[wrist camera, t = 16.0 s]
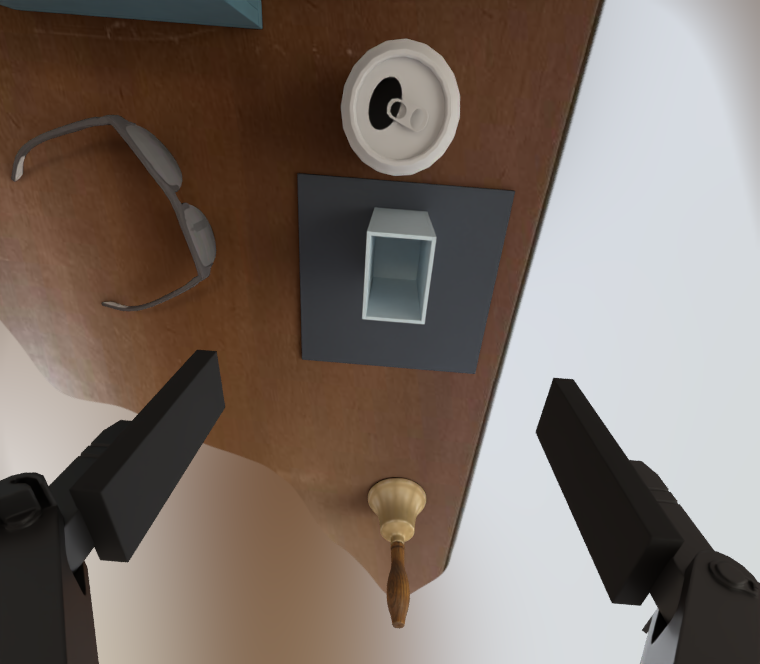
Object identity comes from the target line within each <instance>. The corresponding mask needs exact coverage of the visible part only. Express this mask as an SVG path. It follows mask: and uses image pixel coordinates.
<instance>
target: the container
mask: <svg viewBox="0 0 760 664" xmlns="http://www.w3.org/2000/svg"><path fill="white" fill-rule="evenodd" d="M435 244H436V235H435V232H434V229H433V226H432V223H431V221H430V218H429V215H428V212H426V211H414V210H402V209H390V208H377V207H375V208H374V211H373V214H372V217H371V220H370V224H369V227H368V230H367V239H366V257H365V275H364V293H363V311H362V319H366V320H378V321H390V322H402V323H414V324H425V317H426V309H427V302H428V295H429V288H430V281H431V273H432V266H433V259H434V252H435Z"/></svg>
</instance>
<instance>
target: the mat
mask: <svg viewBox="0 0 760 664" xmlns="http://www.w3.org/2000/svg"><path fill="white" fill-rule="evenodd" d="M514 194H515V191H511V190H499V189H487V188H474V187H462V186H450V185H437V184H425V183H413V182H400V181H388V180H376V179H363V178H351V177H339V176H326V175H314V174H302V173H298V215H299V255H300V296H301V336H302V359H303V360H315V361H327V362H339V363H351V364H362V365H374V366H386V367H398V368H410V369H422V370H434V371H446V372H458V373H470V374H475V371H476V367H477V362H478V358H479V353H480V349H481V344H482V339H483V335H484V330H485V326H486V321H487V317H488V312H489V308H490V303H491V298H492V294H493V289H494V285H495V280H496V276H497V271H498V267H499V262H500V257H501V253H502V248H503V244H504V239H505V235H506V230H507V226H508V221H509V216H510V212H511V207H512V203H513V198H514ZM375 207H377V208H390V209H402V210H414V211H426V212H428V215H429V218H430V221H431V223H432V226H433V229H434V232H435V235H436V244H435V252H434V259H433V266H432V273H431V281H430V288H429V295H428V302H427V309H426V317H425V324H414V323H402V322H390V321H378V320H366V319H362V311H363V293H364V275H365V257H366V239H367V230H368V227H369V224H370V220H371V217H372V214H373V211H374V208H375Z"/></svg>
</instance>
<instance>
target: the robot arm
mask: <svg viewBox="0 0 760 664" xmlns="http://www.w3.org/2000/svg"><path fill="white" fill-rule="evenodd" d="M224 408H225V403H224V397H223V390H222V384H221V377H220V371H219V364H218V358H217V351H206V350H196V351H195V353H194V354H193V355H192V356H191V357H190V358H189V359H188V360H187V361H186V362H185V363H184V365H183V366H182V367H181V368H180V369H179V370H178V371H177V372H176V373H175V374H174V376H173V377H172V378H171V379H170V380H169V381H168V382H167V383H166V384H165V385H164V386H163V388H162V389H161V390H160V391H159V392H158V393H157V394H156V395H155V396H154V397H153V398H152V400H151V401H150V402H149V403H148V404H147V405H146V406H145V407H144V408H143V409H142V410H141V412H140V413H139V414H138V415H137V416H136V417H135V418H134V419H133V420H132V421H125V420H120V421H118V422H116V423H115V424H113V425H112V426H110V427H108V428H107V429H105V430H103V431H102V433H101V434H100V435H99V436H98V437H97V438H96V439H95V440H94V441H93V442H92V443H91V445H90V446H88V447H87V448H86V449H85V450H84V451H83V452H82V453H81V456H78V457H77V458H76V459H75V460H74V461H73V462H72V463H71V464H70V465H69V466H68V467H67V468H66V469H65V470H64V471H63V472H62V473H61V474H60V475H59V476H58V477H57V478H56V480H54V482H52V484H50V486H48V485H47V482H46V480H45V478H44V476H43V475H41V474H38V473H21V474H17V475H13V476H10V477H8V478H6V479H3V480H1V481H0V664H99V662H98V653H97V645H96V636H95V628H94V619H93V611H92V602H91V594H90V585H89V577H88V569H87V565H86V564H85V561H84V560H85V559H86V557H87V556H88V555H89V553H90V552H91V550H92V549H93V548H94V547H95V549H96V552H97V554H98V556H99V558H100V560H106V561H118V562H129V560H130V558H131V557H132V555H133V554H134V552H135V550H136V549H137V547H138V546H139V544H140V543H141V541H142V539H143V538H144V536H145V534H146V533H147V531H148V530H149V528H150V527H151V525H152V523H153V522H154V520H155V519H156V517H157V515H158V514H159V512H160V510H161V509H162V507H163V505H164V504H165V502H166V501H167V499H168V498H169V496H170V495H171V493H172V491H173V490H174V488H175V487H176V485H177V483H178V482H179V480H180V479H181V477H182V475H183V474H184V472H185V471H186V469H187V467H188V466H189V464H190V463H191V461H192V459H193V458H194V456H195V455H196V453H197V451H198V449H199V448H200V447H201V445H202V443H203V442H204V440H205V439H206V437H207V435H208V434H209V432H210V431H211V429H212V427H213V426H214V424H215V423H216V421H217V419H218V418H219V416H220V415H221V413H222V411H223V410H224ZM536 434H537V436H538V439H539V441H540V443H541V445H542V448H543V450H544V452H545V454H546V457H547V459H548V461H549V463H550V465H551V467H552V470H553V472H554V474H555V477H556V479H557V481H558V483H559V486H560V488H561V490H562V492H563V494H564V497H565V499H566V501H567V503H568V506H569V508H570V510H571V512H572V515H573V517H574V519H575V521H576V524H577V526H578V528H579V530H580V533H581V535H582V537H583V539H584V542H585V544H586V546H587V548H588V551H589V553H590V555H591V557H592V559H593V562H594V564H595V566H596V568H597V570H598V573H599V575H600V577H601V580H602V582H603V584H604V586H605V589H606V591H607V593H608V595H609V598H610V600H611V602H612V603H615V604H627V605H639V606H640V605H641V604H642V603H643V601H644V600H645V598H646V597H647V595H648V594H649V593H650V594H651V596H652V598H653V600H654V601H655V603H656V605H657V607H658V609H657V610H656V611H655V613H654V614H653V615H652V617H651V618H650V620H649V621H648V622H647V624H646V625H645V626H644V628H643V629H642V631H644V632H645V633H647V632H648V631H649V632H648V636H647V640H646V644H645V647H644V651H643V655H642V658H641V662H640V664H760V583H759V582H757V580H756V579H755V577H754V576H753V575H752V574H751V573H750V572H749V571H748V570H747V569H746V568H745V567H743V566H742V565H741V564H739V563H738V562H736V561H735V560H733V559H732V558H730V557H728V556H726V555H724V554H721V553H719V552H716V551H714V550H713V548H712V547H711V546H710V544H709V543H708V542H707V540H706V539H705V538H704V536H703V535H702V534H701V532H700V531H699V530H698V528H697V527H696V526H695V524H694V523H693V522H692V520H691V519H690V517H689V516H688V515H687V513H686V512H685V511H684V509H683V508H682V507H681V506H680V504H678V503H677V500H676V499H675V497H674V496H673V495H672V493H671V492H669V491H668V488H667V487H666V485H665V484H664V483H663V481H662V480H661V478H660V477H659V476H658V474H656V473H655V472H654V471H652V470H651V469H650V468H649V467H648V466H647V465H646V464H644V463H643V462H642V461H633V460H629V459H628V458H627V456H626V455H625V454H624V452H623V451H622V449H621V448H620V446H619V445H618V443H617V442H616V440H615V439H614V438H613V436H612V435H611V433H610V432H609V430H608V429H607V428H606V426H605V425H604V423H603V422H602V420H601V419H600V417H599V416H598V414H597V413H596V412H595V410H594V409H593V407H592V406H591V404H590V403H589V401H588V400H587V399H586V397H585V396H584V394H583V393H582V391H581V390H580V389H579V387H578V385H577V384H576V383H575V381H574V380H573V379H562V378H553V381H552V384H551V387H550V390H549V393H548V396H547V399H546V402H545V405H544V408H543V411H542V414H541V417H540V420H539V423H538V426H537V429H536Z"/></svg>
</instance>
